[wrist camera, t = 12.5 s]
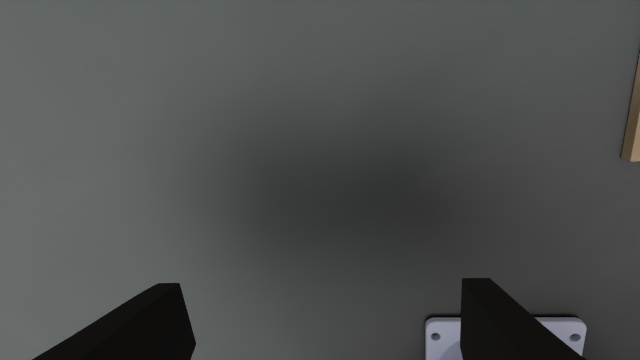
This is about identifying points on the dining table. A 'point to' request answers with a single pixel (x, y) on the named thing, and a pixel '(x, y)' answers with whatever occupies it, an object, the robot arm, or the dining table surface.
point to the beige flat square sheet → (633, 124)
